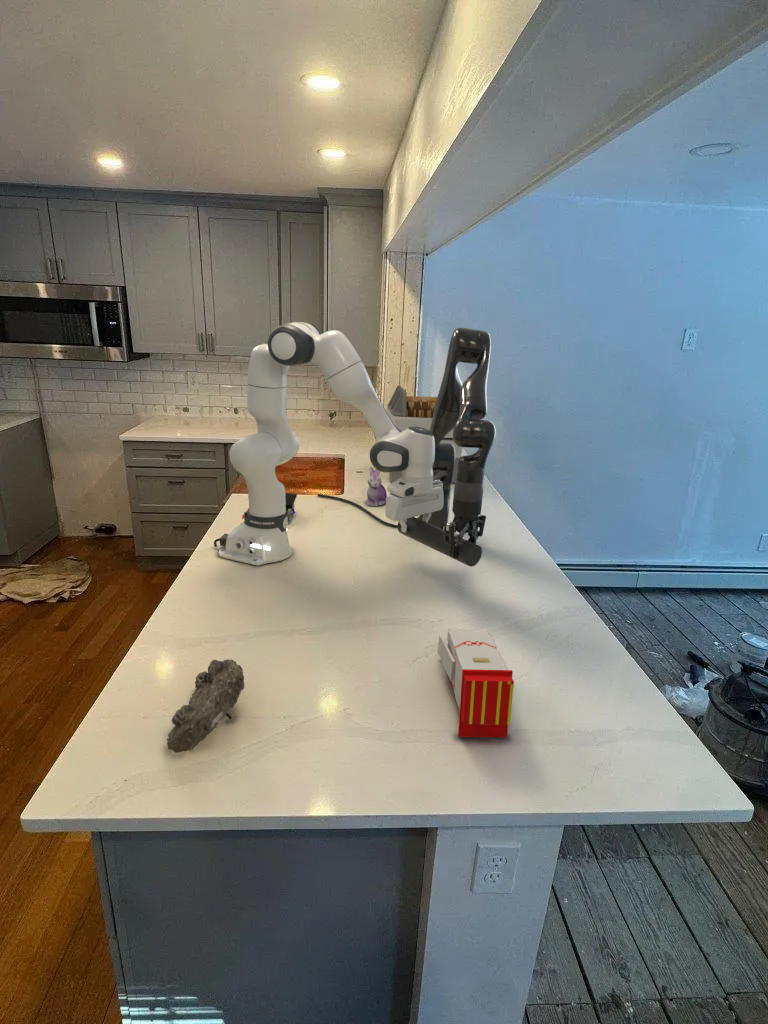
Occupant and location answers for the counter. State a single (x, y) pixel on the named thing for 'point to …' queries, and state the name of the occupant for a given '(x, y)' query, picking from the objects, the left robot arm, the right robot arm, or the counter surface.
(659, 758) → the counter surface
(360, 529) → the counter surface
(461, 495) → the right robot arm
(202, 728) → the fossil
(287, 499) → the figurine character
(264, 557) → the left robot arm
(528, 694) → the counter surface
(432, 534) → the rod
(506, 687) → the toy
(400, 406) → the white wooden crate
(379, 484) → the figurine
